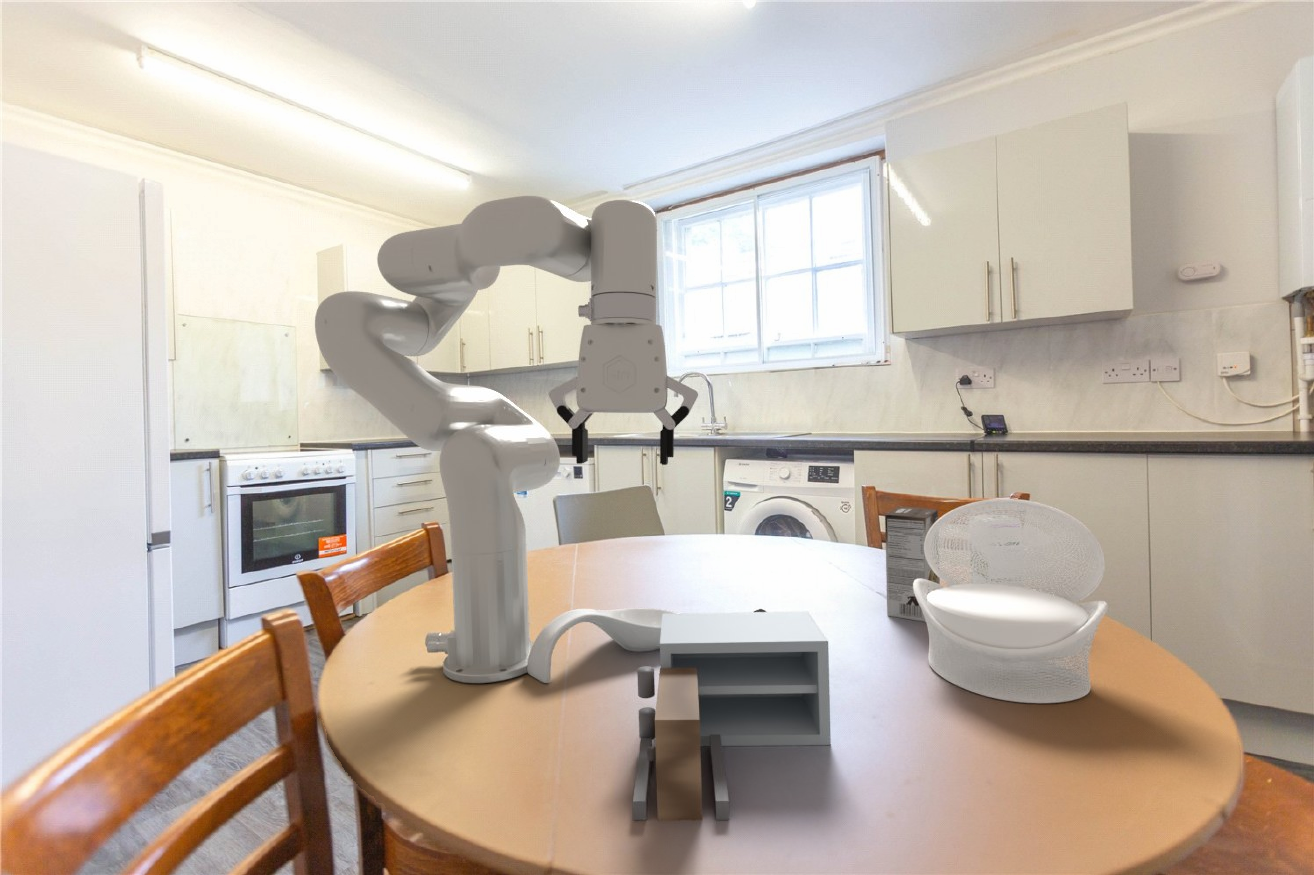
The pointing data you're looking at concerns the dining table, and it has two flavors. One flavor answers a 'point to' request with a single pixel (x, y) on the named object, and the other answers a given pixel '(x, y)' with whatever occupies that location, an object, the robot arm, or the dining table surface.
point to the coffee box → (907, 559)
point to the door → (677, 745)
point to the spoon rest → (622, 625)
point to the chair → (1012, 602)
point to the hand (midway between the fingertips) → (622, 463)
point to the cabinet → (742, 686)
